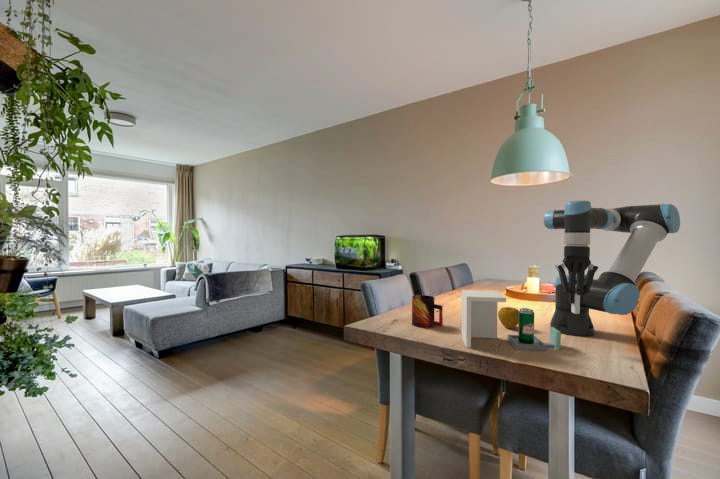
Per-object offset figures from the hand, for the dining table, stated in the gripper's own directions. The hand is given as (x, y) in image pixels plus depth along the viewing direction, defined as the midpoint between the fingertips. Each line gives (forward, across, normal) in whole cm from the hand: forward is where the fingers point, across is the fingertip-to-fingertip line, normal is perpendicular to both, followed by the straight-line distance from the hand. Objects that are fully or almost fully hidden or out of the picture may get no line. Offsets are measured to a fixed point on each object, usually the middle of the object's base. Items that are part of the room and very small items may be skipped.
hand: (575, 312), depth 115 cm
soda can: (+12, +16, 0) cm, 20 cm away
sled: (+12, +13, 0) cm, 18 cm away
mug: (+13, +50, -20) cm, 55 cm away
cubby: (+13, +31, 0) cm, 33 cm away
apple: (+13, +16, -22) cm, 30 cm away
